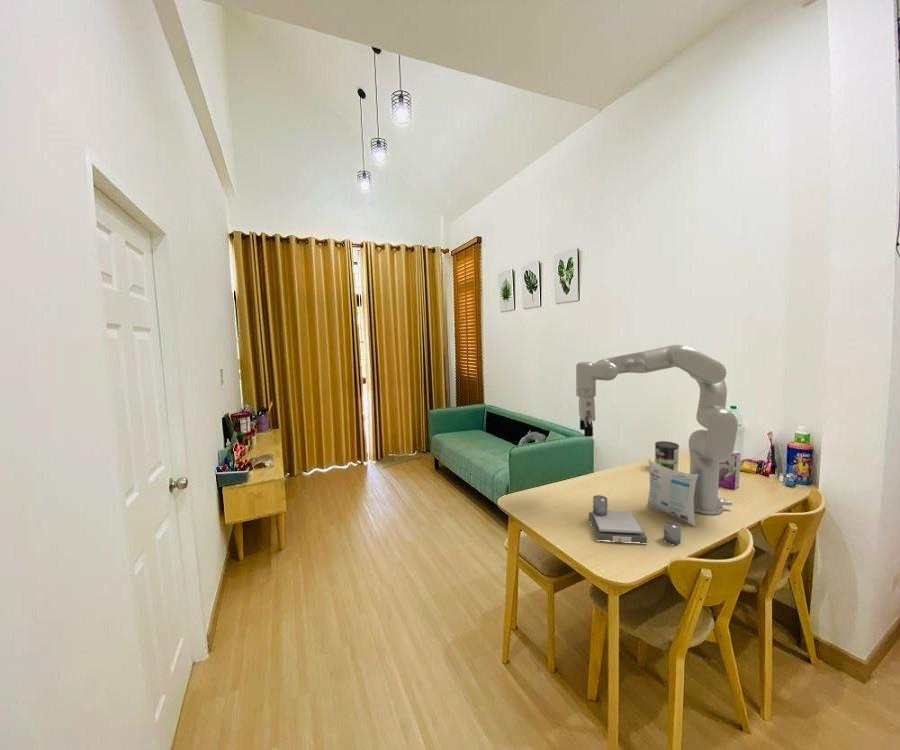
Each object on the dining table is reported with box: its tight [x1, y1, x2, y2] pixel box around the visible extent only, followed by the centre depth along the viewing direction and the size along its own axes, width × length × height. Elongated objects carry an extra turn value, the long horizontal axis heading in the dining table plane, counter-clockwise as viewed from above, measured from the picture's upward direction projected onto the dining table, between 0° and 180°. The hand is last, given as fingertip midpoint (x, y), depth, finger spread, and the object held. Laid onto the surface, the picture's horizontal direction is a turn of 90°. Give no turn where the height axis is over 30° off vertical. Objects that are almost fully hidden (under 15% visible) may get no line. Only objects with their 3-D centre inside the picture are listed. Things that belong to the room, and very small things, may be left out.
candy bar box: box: [719, 450, 742, 491], centre depth 166 cm, size 11×5×16 cm, turn 34°
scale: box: [588, 509, 648, 544], centre depth 134 cm, size 16×17×4 cm
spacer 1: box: [592, 494, 608, 517], centre depth 139 cm, size 5×5×6 cm
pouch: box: [646, 459, 698, 528], centre depth 142 cm, size 8×19×20 cm, turn 24°
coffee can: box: [654, 440, 680, 472], centre depth 184 cm, size 10×10×14 cm
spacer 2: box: [663, 520, 682, 546], centre depth 126 cm, size 5×5×6 cm
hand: (586, 432), depth 152 cm, fingers open, 9 cm apart
